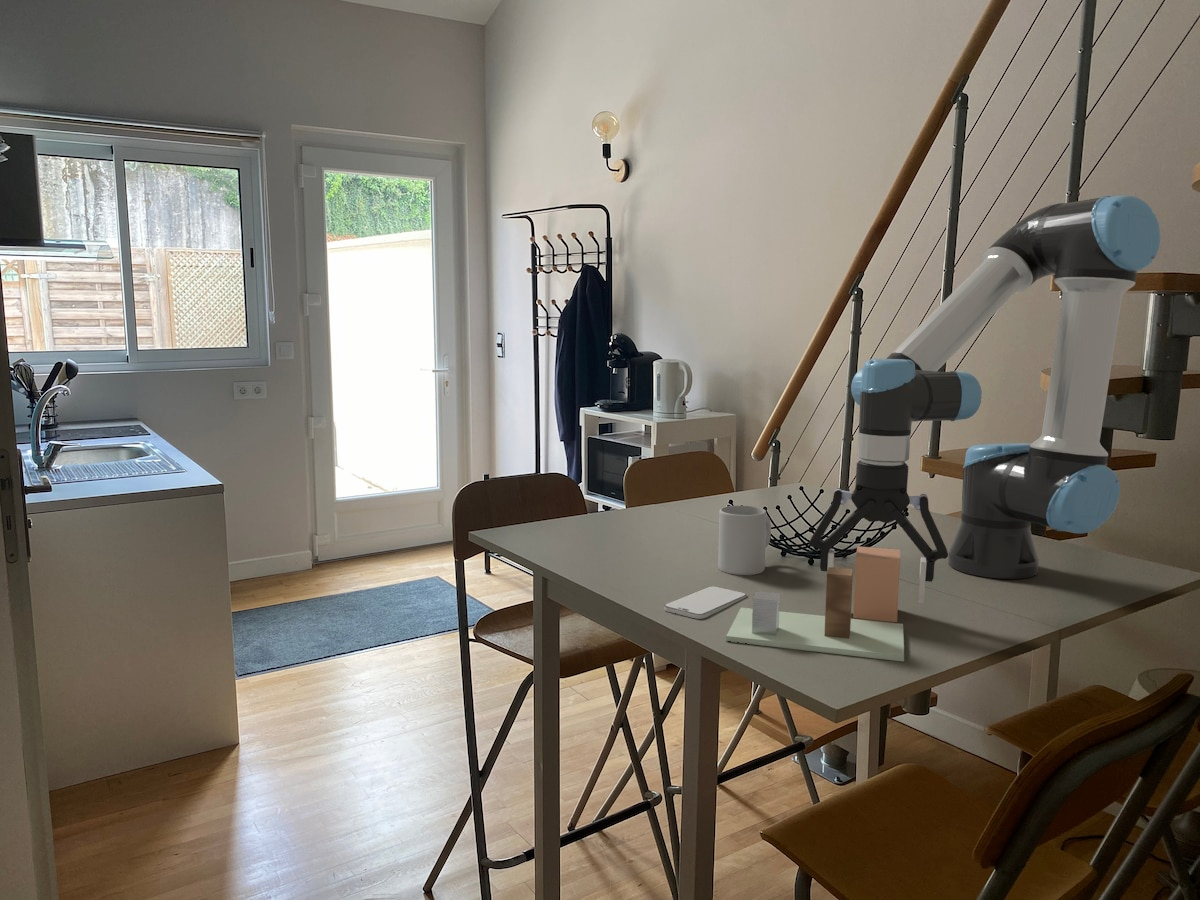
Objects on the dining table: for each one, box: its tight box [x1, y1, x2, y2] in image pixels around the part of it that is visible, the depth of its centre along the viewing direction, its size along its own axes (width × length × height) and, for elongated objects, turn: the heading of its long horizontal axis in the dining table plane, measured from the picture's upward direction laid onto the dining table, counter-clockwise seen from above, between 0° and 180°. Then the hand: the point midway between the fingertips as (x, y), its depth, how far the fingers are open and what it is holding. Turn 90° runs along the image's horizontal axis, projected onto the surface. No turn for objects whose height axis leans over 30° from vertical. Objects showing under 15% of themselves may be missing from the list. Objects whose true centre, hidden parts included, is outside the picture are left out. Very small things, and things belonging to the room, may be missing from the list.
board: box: [725, 607, 905, 662], centre depth 128 cm, size 24×13×1 cm, turn 72°
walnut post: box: [824, 566, 854, 639], centre depth 126 cm, size 3×3×10 cm
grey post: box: [752, 591, 781, 636], centre depth 128 cm, size 3×3×6 cm
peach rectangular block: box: [852, 545, 901, 623], centre depth 137 cm, size 6×6×10 cm
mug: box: [717, 505, 772, 576], centre depth 162 cm, size 12×8×11 cm
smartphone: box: [663, 586, 747, 620], centre depth 143 cm, size 7×1×15 cm
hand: (874, 596), depth 137 cm, fingers open, 13 cm apart
